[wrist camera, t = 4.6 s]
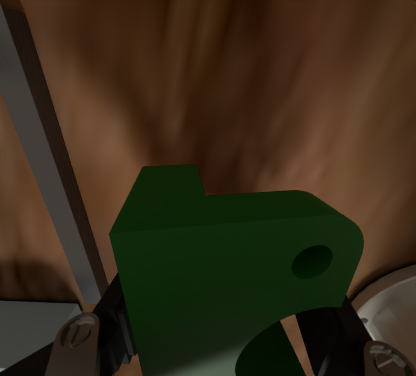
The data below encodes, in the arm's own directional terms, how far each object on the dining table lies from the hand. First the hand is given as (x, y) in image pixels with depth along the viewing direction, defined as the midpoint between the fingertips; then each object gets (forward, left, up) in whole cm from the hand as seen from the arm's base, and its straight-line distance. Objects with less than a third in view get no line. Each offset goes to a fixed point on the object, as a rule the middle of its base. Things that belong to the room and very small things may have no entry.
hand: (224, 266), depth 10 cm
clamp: (0, 0, -1) cm, 1 cm away
